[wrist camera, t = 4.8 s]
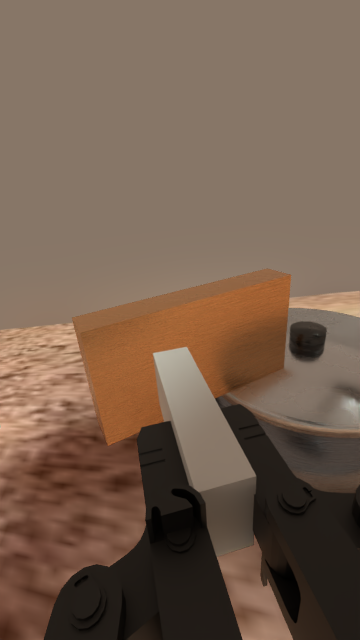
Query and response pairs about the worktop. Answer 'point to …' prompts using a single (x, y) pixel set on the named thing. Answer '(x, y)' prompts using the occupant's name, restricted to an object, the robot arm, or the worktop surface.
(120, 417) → the lid
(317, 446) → the pot
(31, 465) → the worktop surface
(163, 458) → the robot arm
